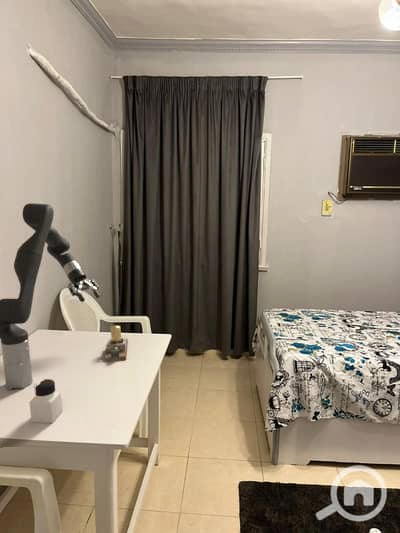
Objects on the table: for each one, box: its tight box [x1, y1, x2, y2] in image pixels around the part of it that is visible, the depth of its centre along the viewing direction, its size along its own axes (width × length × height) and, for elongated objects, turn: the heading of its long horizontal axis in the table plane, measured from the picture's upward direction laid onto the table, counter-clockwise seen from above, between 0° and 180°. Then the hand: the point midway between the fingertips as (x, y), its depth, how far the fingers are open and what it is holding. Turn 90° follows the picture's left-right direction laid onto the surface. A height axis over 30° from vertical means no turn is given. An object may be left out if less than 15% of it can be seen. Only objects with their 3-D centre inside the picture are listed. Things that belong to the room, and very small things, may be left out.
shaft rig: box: [104, 337, 129, 362], centre depth 176 cm, size 24×9×6 cm, turn 9°
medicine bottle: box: [29, 378, 63, 424], centre depth 122 cm, size 7×7×12 cm
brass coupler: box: [110, 324, 122, 344], centre depth 175 cm, size 4×4×10 cm
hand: (91, 299), depth 178 cm, fingers open, 8 cm apart
